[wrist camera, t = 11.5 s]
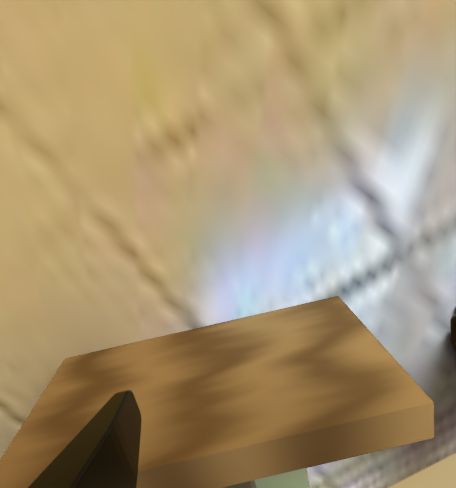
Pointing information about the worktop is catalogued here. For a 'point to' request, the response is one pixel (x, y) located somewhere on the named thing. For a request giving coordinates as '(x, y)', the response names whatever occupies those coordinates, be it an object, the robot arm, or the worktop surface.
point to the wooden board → (235, 400)
